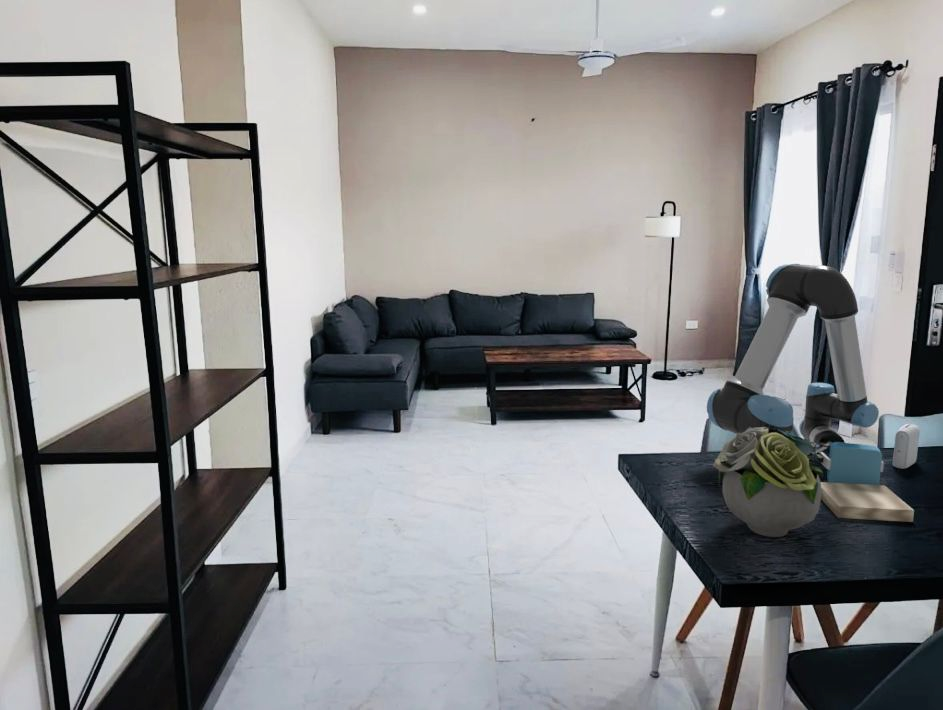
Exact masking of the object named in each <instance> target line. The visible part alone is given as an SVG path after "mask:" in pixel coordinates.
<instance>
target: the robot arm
mask: <svg viewBox="0 0 943 710" xmlns="http://www.w3.org/2000/svg"><path fill="white" fill-rule="evenodd" d="M765 287H766V289H765V291H766V295H767V296H768V297H767V298H766V302H767V304H768V308H767V310H766V313H765V315H764V316H763V318H762V321H761V323H760V325H759V327H758V328H757V331H756V332H755V335H754V337H753V339H752V341H751V342H750V345H749V348H748V349H747V351H746V353H745V354H744V357H743V359H742V361H741V363H740V365H739V367H738V369H737V371H736V372H735V375H734V377H733V378H730V379H727V380H726V382H725V383H724V386H723V387H721V388H716V389H715V390H713V392H712V393H711V394H710V395H709V396H708V399H707V402H706V403H707V404H706V413H707V415H708V419H709V421H711V423H712V424H713V425H715V426H717V427H718V428H720V429H722V430H724V431H728V432H730V433H733V434H735V435H737V434H738V433H739V432H740V433H743V432H745V431H746V430H747V429H748V428H749V427H751V428H756V427H767V428H764V429H768V430H769V429H770V430H780V431H784V432H786V431H788V432H789V431H791V430H792V431H793V427H794V419H795V417H794V408H793V406H792V404H791V403H789V402H788V401H787V400H785V399H783V398H780V397H776V396H771V395H768V394H767V395H766V394H764V392H763V391H764V390H763V389H764V388H765V385H766V384H767V382H768V379H769V377H770V375H771V374H772V372H773V369H774V367H775V365H776V363H777V362H778V359H779V357H780V355H781V353H782V351H783V349H784V347H785V346H786V344H787V341H788V339H789V338H790V335H791V333H792V331H793V329H794V328H795V325H796V323H797V321H798V319H799V318H801V317H802V318H803V317H805V316H806V315H807V313H808V311H809V309H810V307H816V308H817V310H818V311H819V312H818V314H819V317H820V319H822V320H823V321H824V323H825V325H824V326H825V328H826V329H825V330H826V335H827V341H828V347H829V353H830V358H831V360H830V361H831V365H832V370H833V372H832V373H833V378H834V383H835V387H834V385H833V384H830V383H826V382H811V383H809V384H808V386H807V390H806V395H805V407H804V416H803V419H802V421H801V422H800V423H799V427H798V429H799V433H800V435H801V436H802V438H803V439H808V440H809V442H810V443H811V445H812V446H813V447H814V448H815V451H817V453H815V452H814V451H813V452H811V453H810V454H809V455H807V457H808V456H812V455H814V454H816V455H817V457H818V459H817V460H813V463H814V464H818V463H821V465H822V466H823V467H824V468H825V469H826V470H828V469H830V466H831V459H830V458H829V453H830V446H831V444H832V443H834V442H842V443H846V441H845V440H844V438H843V436H841V435H840V434H839V433H837V432H836V431H835V430H834V429H833V428H831V423H832V419H834V420H837V421H840V422H843V423H845V424H846V423H847V424H850V425H852V426H855V427H861V428H866V429H867V428H870V427H872V426H873V425H875V424H876V422H877V421H878V419H879V415H880V414H879V412H880V411H879V408H878V407H877V405H876V404H875V403H872V402H870V401H868V396H867V391H866V390H867V389H866V383H865V375H864V370H863V369H864V368H863V362H862V357H861V356H862V355H861V350H860V349H861V348H860V343H859V337H858V336H859V335H858V330H857V322H856V315H857V314H858V313H859V308H858V302H857V301H858V300H857V298H856V294H855V293H854V290H853V288H852V286H851V285H850V283H849V281H848V279H847V278H846V277H845V276H844V274H842V273H841V272H840V271H839V270H837V269H836V268H835V267H832V266H828V265H814V264H812V265H810V264H800V263H791V264H790V263H787V264H782V265H779V266H777V267H775V269H774V270H772V271H771V273H770V274H769V276H768V278H767V280H766V284H765ZM835 389H836V391H835ZM835 392H836V393H835ZM786 433H787V432H786ZM881 454H882V463H881V472H880V473H883V472H884V465H885V462H884V461H883V457H884V454H883V453H882V452H881Z"/></svg>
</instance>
